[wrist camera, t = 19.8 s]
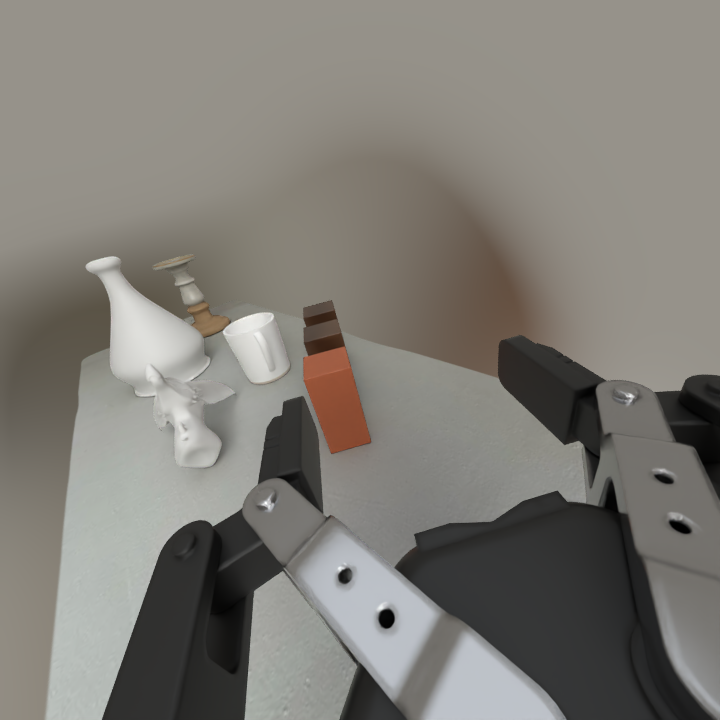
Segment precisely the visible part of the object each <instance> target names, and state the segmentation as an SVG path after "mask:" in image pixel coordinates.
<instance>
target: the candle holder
mask: <svg viewBox="0 0 720 720" xmlns="http://www.w3.org/2000/svg"><path fill="white" fill-rule="evenodd" d="M195 258H196V257H195V255H194V254H191V255H185V256H181V257H178V258H174V259H170V260H167V261H163V262H161V263H158V264H155V265H153V266H152V268H153V269H154V270H162V269H165V270H166V271H167V272H168V273H170V274H172V275H173V276H174V277H175V279H176V282H175V285H176V286H178V287H179V288H180V291H181V294H182V300H183V302H184V304H185V305H188V306H189V307H188V310H187V312H188V313H190V314H192V315H193V317H194V320H195V322H194V323H193V324H192V325H191V326H193V327H194V328H195V329H197V330H198V331H199V332H200V333H201V334H202V336H203V337H207V336H210V335H213V334H215V333H217V332H219V331H221V330H223V329H224V328H226V327H227V326H228V325H229V324H230V320H229V318H228V317H225V316H220V315H213V316H212V314H211V313H210V311H209V309H208V308H209V304H208V303H206V302H204V301H203V300H204V295H203V294H202V293H201V292H200V290H199V289H198V288H197V287H196V285H195V284H194V280H195V279H194V278H193V277H191V276H190V275H189V274H188V272H187V269H188V262H190V261H192V260H194V259H195Z"/></svg>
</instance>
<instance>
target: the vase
mask: <svg viewBox="0 0 720 720" xmlns="http://www.w3.org/2000/svg"><path fill="white" fill-rule="evenodd" d="M120 265H121V260H120V259H119V258H118V257H106V258H102V259H98V260H94V261H91V262H89V263H88V264H87V265H86V269H87V270H88V271H89V272H91V273H94V274H96V275H97V276H99V278H100V279H101V280H102V282H103V284H104V286H105V288H106V290H107V292H108V295H109V299H110V305H111V339H110V366H111V370H112V373H113V374H114V376H115V377H116V378H118V379H119V380H121V381H123V382H125V383H127V384H129V385H131V386H133V387H134V388H135V390H134V393H135V394H136V395H137V396H141V397H148V396H154V395H155V391H156V390H155V388H154V387H153V386H152V385H151V384H150V383H149V382H148V381H147V379H146V375H145V368H146V365H148V364H151V365H153V366H154V367H155V368H156V369H157V370H158V371H159V372H160V373H161V374H162V375H163V377H164V378H166V377H173V378H176V379H179V380H181V381H183V382H187V381H191V380H192V379H194V378H195V377H197V376H198V375H199V374H201V373H202V372H203V371H204V370H205V369H206V368H207V367H208V365H209V364H210V358H209V357H208V356H206V355H205V352H204V347H205V343H204V338H203V336H202V334H201V333H200V332H199V331H198V330H197V329H195V328H194V327H193V326H191V325H189V324H188V323H186V322H185V321H183V320H181V319H180V318H178V317H176V316H175V315H173V314H171V313H170V312H168V311H166V310H164V309H163V308H161V307H160V306H158V305H157V304H155V303H153V302H152V301H150V300H149V299H147V298H146V297H144V296H143V295H141V294H140V293H139V292H138V291H136V290H135V289H134V288H133V287H132V286H131V285H130V284H129V282H128V281H127V280H126V279H125V277H124V276H123V275H122V273H121V271H120Z"/></svg>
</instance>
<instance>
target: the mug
mask: <svg viewBox="0 0 720 720" xmlns="http://www.w3.org/2000/svg"><path fill="white" fill-rule="evenodd" d="M223 335H224V337H225V338H226V340H227V342H228V344H229V345H230V347H231V349H232V351H233V353H234V354H235V356H236V358H237V360H238V361H239V363H240V365H241V367H242V369H243V370H244V372H245V374H246V376H247V377H248V379H249V381H250V382H251V383H253V384H256V385H262V384H267V383H271V382H273V381H276V380H278V379H280V378H281V377H283V376H284V375H285V374H286V373H287V372H288V371H289V369H290V362H289V359H288V356H287V353H286V350H285V347H284V344H283V341H282V338H281V335H280V332H279V329H278V326H277V323H276V320H275V317H274V315H273V314H272V313H258V314H253V315H249V316H246V317H244V318H241V319H239V320H237V321H235V322H233V323H231V324H230V325H228V326H227V327H226V328H225V329H224V330H223Z"/></svg>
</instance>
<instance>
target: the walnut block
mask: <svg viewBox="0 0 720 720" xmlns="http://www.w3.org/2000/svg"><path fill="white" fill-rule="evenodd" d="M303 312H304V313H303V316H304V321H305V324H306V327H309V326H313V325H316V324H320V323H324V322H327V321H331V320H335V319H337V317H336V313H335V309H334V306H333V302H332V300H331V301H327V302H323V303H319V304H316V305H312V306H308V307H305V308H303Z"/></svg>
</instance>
